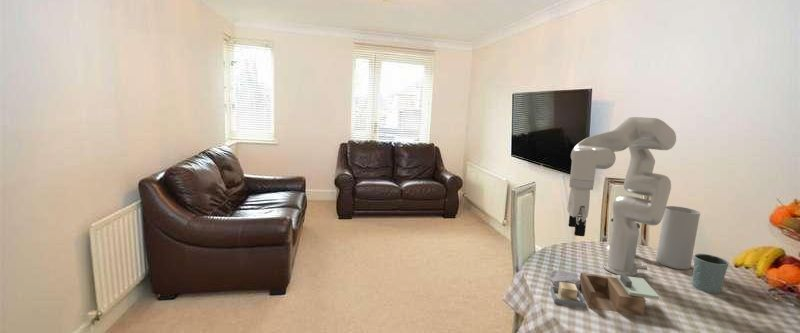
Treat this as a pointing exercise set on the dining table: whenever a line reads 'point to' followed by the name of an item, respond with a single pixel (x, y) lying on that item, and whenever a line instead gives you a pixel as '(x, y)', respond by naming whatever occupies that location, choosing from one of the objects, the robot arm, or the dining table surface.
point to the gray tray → (567, 302)
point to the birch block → (567, 291)
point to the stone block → (564, 278)
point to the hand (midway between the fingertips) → (576, 231)
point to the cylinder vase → (677, 237)
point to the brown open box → (609, 295)
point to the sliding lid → (637, 286)
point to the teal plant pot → (709, 272)
